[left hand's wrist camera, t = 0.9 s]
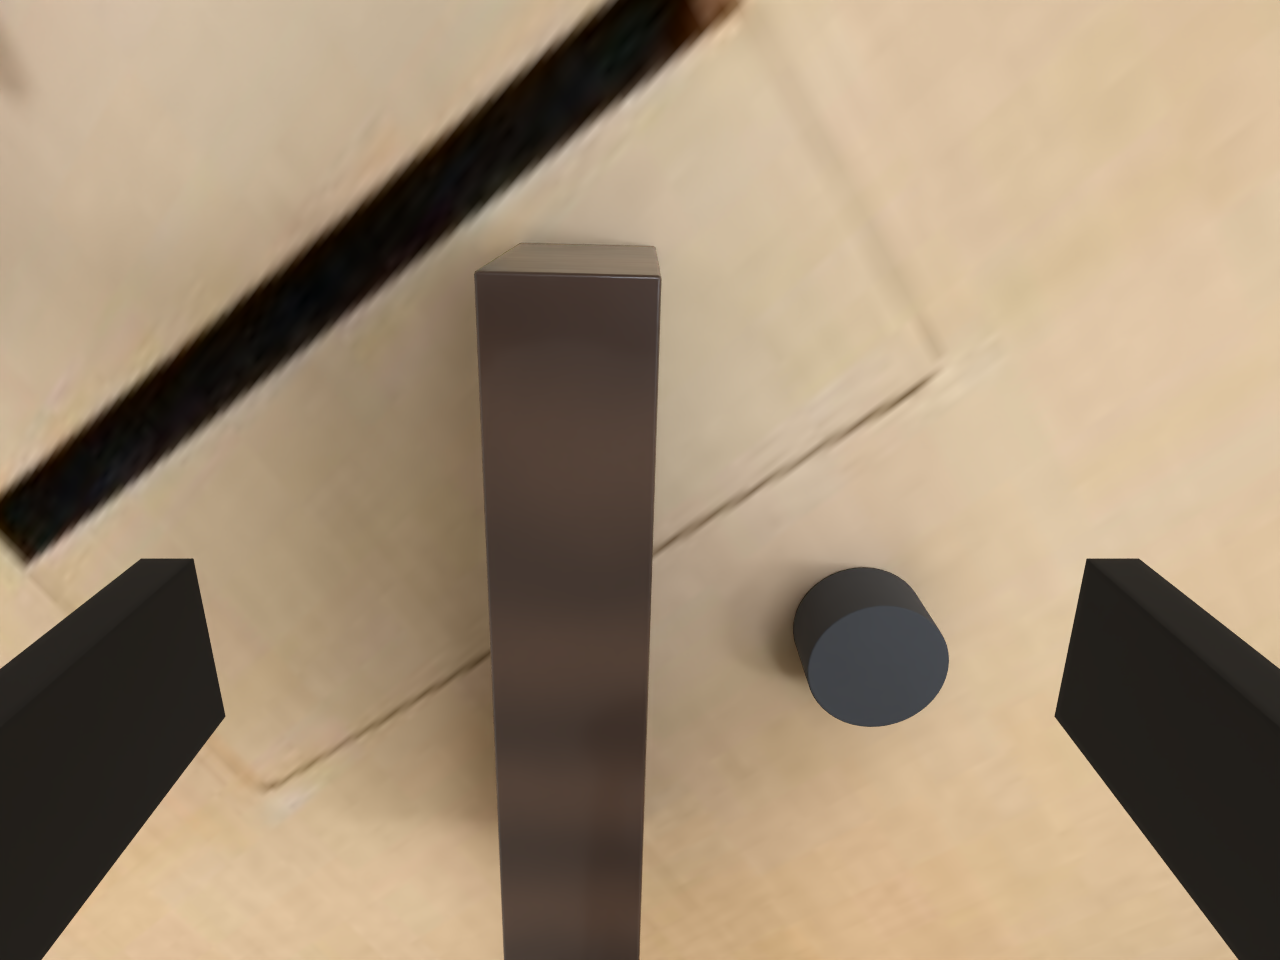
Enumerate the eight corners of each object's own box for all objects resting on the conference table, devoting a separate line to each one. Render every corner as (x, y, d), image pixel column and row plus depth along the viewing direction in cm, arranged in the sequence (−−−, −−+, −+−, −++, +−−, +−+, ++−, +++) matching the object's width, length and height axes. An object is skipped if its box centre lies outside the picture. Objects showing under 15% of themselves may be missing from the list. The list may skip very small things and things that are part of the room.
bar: (518, 242, 28) (473, 270, 20) (655, 246, 28) (661, 275, 20) (533, 823, 36) (505, 996, 28) (638, 826, 36) (637, 999, 29)
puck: (799, 565, 32) (814, 604, 29) (931, 568, 32) (959, 607, 29) (787, 679, 33) (801, 725, 31) (913, 681, 34) (938, 728, 31)
